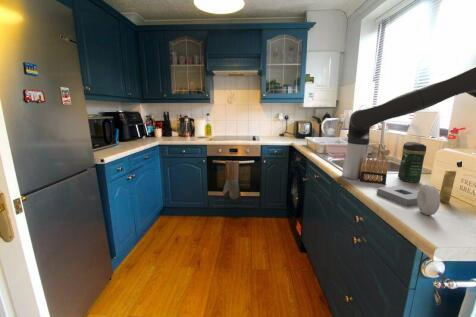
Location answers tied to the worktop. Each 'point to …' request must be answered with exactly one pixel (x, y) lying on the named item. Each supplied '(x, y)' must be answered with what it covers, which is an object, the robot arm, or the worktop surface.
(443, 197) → the dowel
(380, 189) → the socket block
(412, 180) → the coffee jar
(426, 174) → the worktop surface
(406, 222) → the worktop surface
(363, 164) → the ammunition clip
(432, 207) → the donut
